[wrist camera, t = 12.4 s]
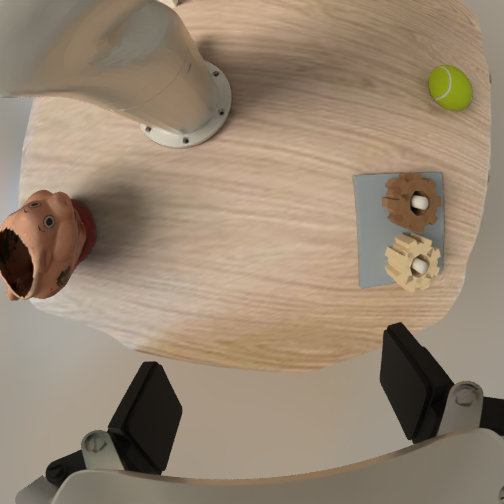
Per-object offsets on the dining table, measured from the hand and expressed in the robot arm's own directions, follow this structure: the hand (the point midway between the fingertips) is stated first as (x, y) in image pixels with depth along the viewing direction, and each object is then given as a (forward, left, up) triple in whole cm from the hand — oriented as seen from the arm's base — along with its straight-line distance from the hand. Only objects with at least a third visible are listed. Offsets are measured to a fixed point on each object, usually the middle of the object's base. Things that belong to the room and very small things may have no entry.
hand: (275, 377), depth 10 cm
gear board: (+1, +19, -26) cm, 32 cm away
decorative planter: (-4, -30, -26) cm, 40 cm away
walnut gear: (-3, +19, -24) cm, 31 cm away
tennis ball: (-19, +29, -26) cm, 43 cm away
